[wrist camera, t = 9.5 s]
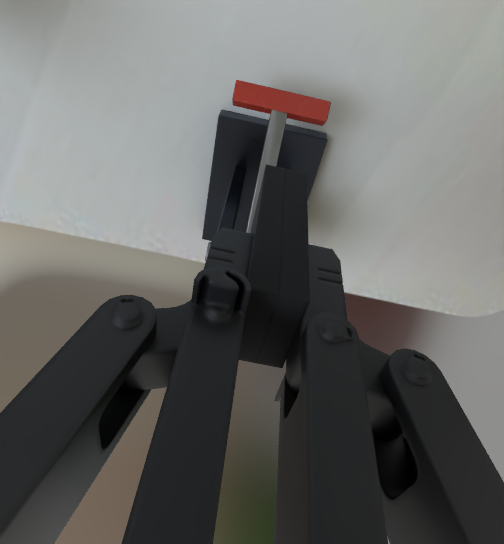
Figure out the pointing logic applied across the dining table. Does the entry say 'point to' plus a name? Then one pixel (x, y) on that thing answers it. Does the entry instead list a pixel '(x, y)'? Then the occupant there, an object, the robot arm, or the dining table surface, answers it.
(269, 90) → the lever
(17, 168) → the dining table surface
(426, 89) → the dining table surface
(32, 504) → the robot arm
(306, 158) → the bracket
